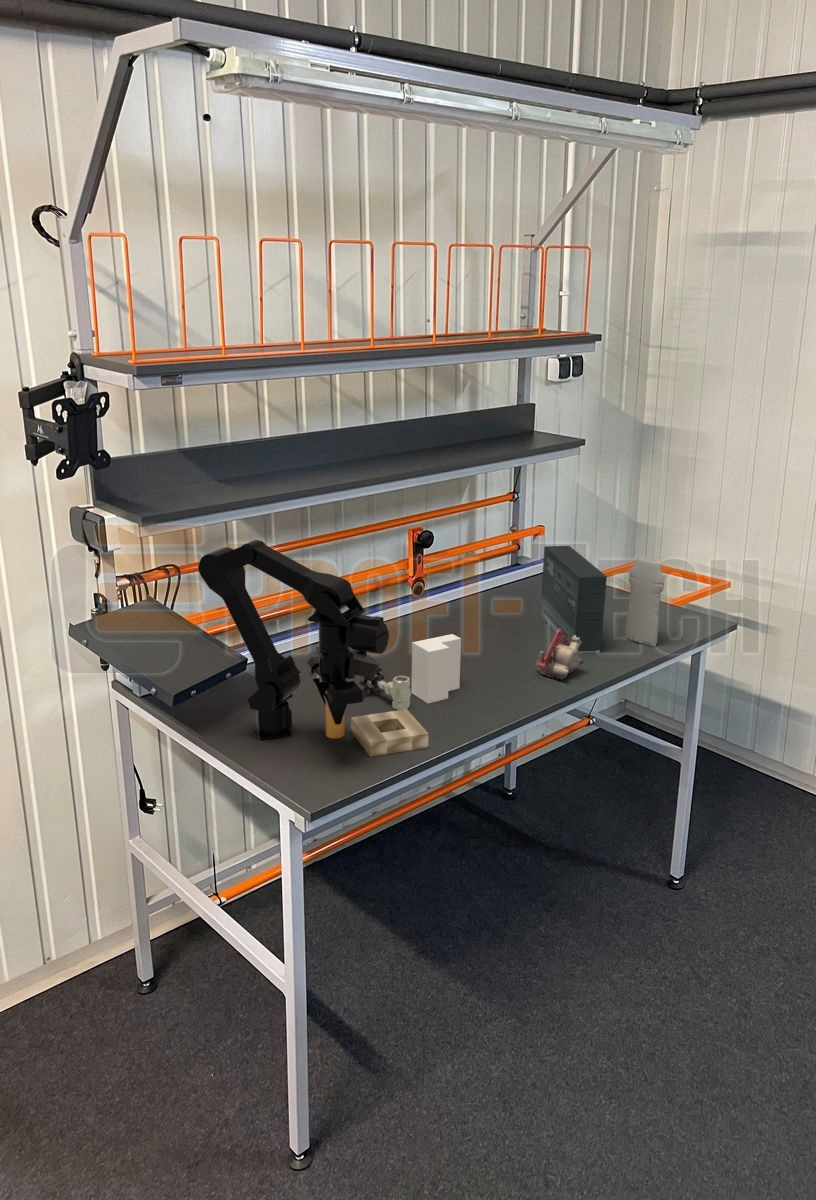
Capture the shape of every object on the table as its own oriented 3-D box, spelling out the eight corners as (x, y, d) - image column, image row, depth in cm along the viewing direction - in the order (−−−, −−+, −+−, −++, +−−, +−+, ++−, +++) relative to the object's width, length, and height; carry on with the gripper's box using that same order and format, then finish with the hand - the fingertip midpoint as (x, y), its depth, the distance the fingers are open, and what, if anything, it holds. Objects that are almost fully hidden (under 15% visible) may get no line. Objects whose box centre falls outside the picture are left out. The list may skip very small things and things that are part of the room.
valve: (418, 705, 207) (381, 689, 215) (419, 677, 205) (381, 662, 213) (396, 714, 203) (359, 697, 211) (396, 685, 201) (359, 669, 209)
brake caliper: (544, 650, 233) (573, 619, 226) (574, 684, 230) (604, 654, 223) (519, 663, 225) (548, 632, 217) (550, 699, 222) (581, 669, 214)
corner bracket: (427, 703, 208) (428, 651, 205) (400, 685, 217) (401, 636, 214) (467, 693, 214) (469, 643, 210) (439, 676, 223) (440, 627, 219)
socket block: (370, 756, 184) (370, 742, 183) (351, 730, 195) (350, 717, 194) (428, 747, 188) (428, 733, 187) (406, 722, 199) (406, 709, 198)
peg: (329, 739, 186) (328, 696, 183) (323, 731, 189) (323, 689, 186) (346, 736, 187) (346, 694, 184) (341, 729, 190) (340, 687, 187)
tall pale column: (619, 637, 249) (626, 555, 243) (629, 634, 252) (636, 553, 245) (652, 649, 242) (660, 565, 235) (662, 645, 244) (671, 562, 237)
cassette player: (600, 653, 238) (606, 576, 232) (573, 654, 237) (579, 577, 231) (564, 615, 266) (569, 545, 260) (540, 616, 265) (544, 546, 258)
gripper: (390, 656, 177) (390, 733, 181) (359, 624, 193) (359, 696, 198) (332, 664, 173) (333, 742, 178) (305, 630, 189) (306, 703, 194)
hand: (335, 720), depth 187 cm, fingers closed on peg, 4 cm apart
